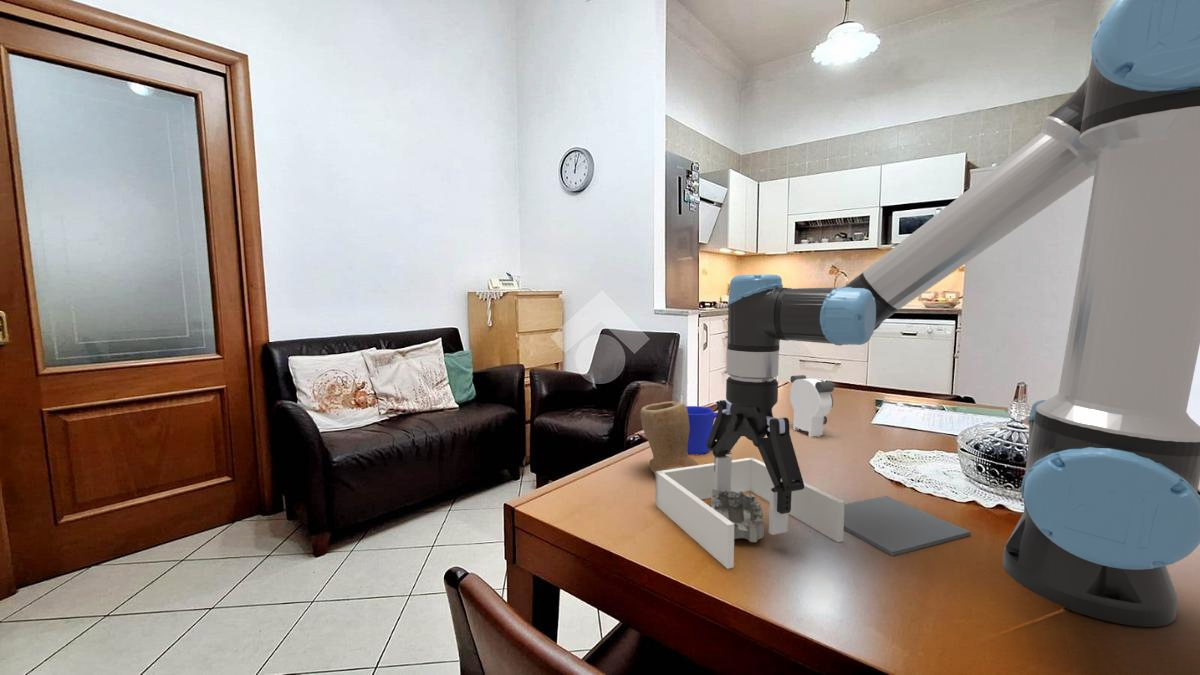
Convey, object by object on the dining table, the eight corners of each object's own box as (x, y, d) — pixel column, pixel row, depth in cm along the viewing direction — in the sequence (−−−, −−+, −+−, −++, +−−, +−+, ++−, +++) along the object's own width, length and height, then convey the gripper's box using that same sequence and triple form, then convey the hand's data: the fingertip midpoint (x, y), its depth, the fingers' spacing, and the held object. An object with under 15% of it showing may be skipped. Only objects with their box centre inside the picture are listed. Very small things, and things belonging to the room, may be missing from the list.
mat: (970, 535, 72) (970, 531, 72) (892, 556, 67) (892, 551, 67) (886, 499, 85) (886, 495, 85) (815, 513, 80) (815, 510, 80)
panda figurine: (844, 441, 119) (846, 381, 118) (806, 445, 116) (807, 383, 115) (810, 428, 131) (812, 373, 130) (774, 432, 128) (776, 375, 126)
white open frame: (843, 541, 71) (844, 501, 70) (727, 568, 64) (727, 525, 63) (751, 488, 90) (752, 457, 90) (655, 505, 84) (655, 471, 83)
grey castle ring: (766, 544, 69) (765, 517, 68) (712, 542, 71) (710, 515, 70) (759, 509, 79) (758, 485, 79) (712, 508, 81) (710, 484, 80)
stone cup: (636, 465, 103) (635, 396, 102) (690, 463, 105) (690, 394, 103) (650, 494, 88) (650, 413, 87) (714, 491, 90) (714, 411, 88)
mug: (733, 458, 107) (734, 414, 107) (679, 458, 108) (679, 414, 107) (724, 446, 116) (725, 405, 115) (674, 447, 116) (674, 406, 115)
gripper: (837, 391, 63) (829, 546, 65) (724, 364, 86) (722, 479, 88) (790, 395, 60) (784, 557, 62) (688, 366, 84) (685, 485, 86)
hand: (748, 512), depth 75 cm, fingers open, 13 cm apart
